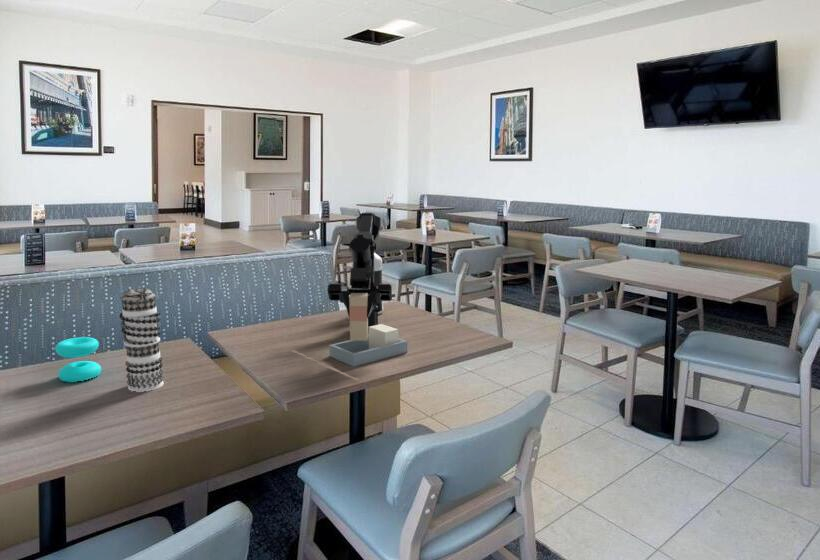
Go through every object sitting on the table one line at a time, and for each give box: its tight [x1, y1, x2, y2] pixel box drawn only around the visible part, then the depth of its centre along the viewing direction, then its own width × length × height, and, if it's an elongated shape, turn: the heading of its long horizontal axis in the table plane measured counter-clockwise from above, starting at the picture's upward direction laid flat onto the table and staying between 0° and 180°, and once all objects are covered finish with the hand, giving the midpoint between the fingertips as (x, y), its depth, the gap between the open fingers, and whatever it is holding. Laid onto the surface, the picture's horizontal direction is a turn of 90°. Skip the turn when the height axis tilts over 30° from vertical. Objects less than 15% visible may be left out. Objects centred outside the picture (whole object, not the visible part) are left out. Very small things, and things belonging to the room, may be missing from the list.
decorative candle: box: [118, 287, 165, 393], centre depth 146 cm, size 9×9×25 cm
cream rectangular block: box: [368, 323, 399, 349], centre depth 176 cm, size 5×8×7 cm, turn 42°
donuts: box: [54, 336, 102, 383], centre depth 154 cm, size 10×10×10 cm
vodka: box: [374, 252, 385, 316], centre depth 222 cm, size 9×9×30 cm
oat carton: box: [349, 293, 369, 341], centre depth 169 cm, size 5×5×13 cm
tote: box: [328, 335, 408, 367], centre depth 173 cm, size 20×12×4 cm, turn 132°
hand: (358, 316), depth 167 cm, fingers closed on oat carton, 5 cm apart
